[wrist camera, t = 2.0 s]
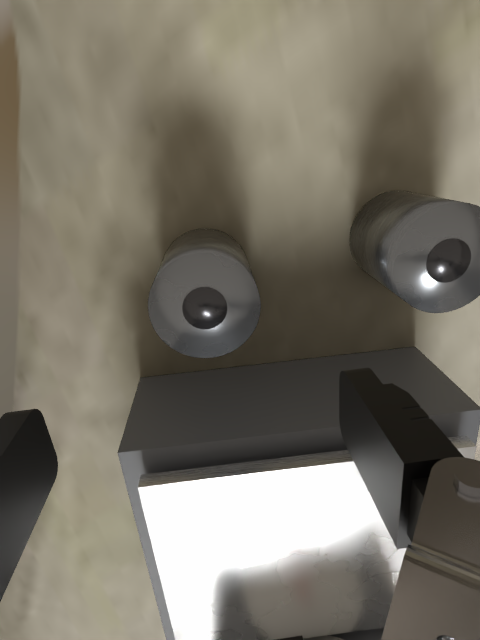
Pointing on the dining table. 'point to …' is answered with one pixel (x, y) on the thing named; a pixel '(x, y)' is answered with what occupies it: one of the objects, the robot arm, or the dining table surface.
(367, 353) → the scale
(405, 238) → the cylinder
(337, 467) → the scale pan
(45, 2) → the dining table surface
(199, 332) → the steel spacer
